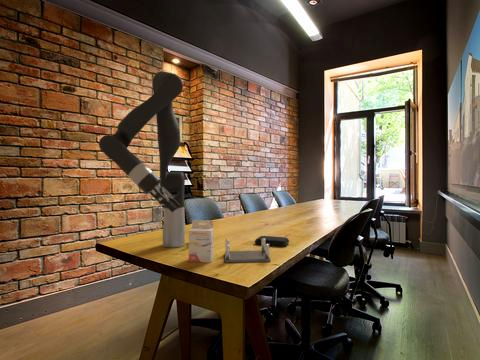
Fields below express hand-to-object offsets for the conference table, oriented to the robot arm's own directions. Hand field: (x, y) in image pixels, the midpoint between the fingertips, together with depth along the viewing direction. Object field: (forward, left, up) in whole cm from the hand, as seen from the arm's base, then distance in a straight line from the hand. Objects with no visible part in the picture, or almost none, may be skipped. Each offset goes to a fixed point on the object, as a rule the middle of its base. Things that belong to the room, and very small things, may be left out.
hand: (176, 209), depth 103 cm
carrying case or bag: (+40, +24, -20) cm, 50 cm away
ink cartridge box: (+9, 0, -19) cm, 21 cm away
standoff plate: (+26, +2, -19) cm, 32 cm away
